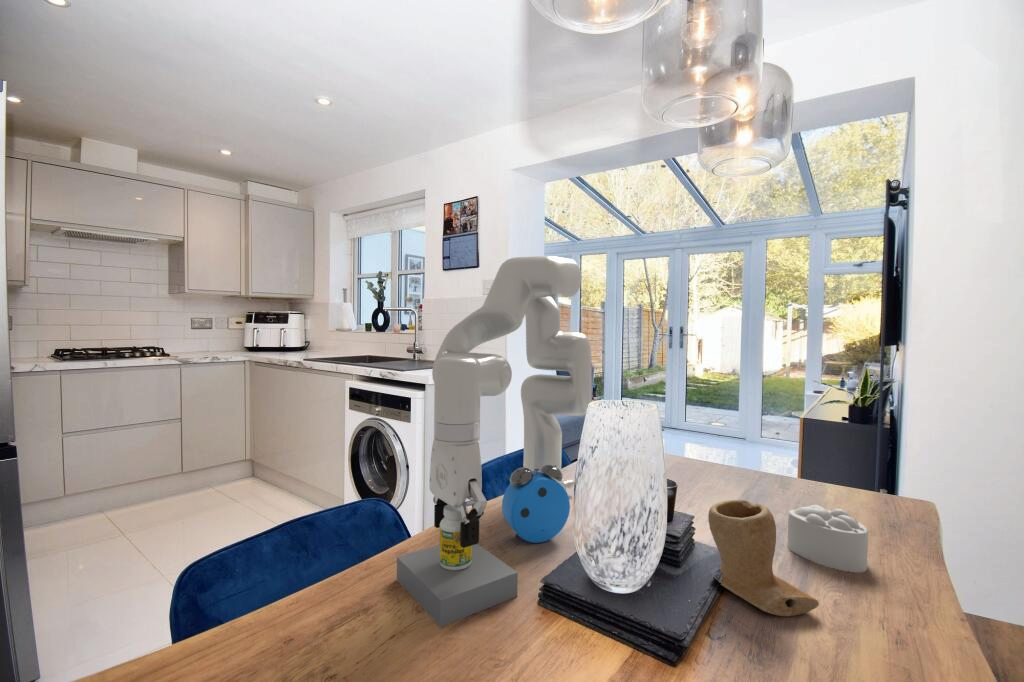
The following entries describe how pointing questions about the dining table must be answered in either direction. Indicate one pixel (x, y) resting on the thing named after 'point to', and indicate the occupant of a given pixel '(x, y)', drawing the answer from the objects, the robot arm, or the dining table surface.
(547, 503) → the alarm clock
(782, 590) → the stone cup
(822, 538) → the lumpy-topped squat cylinder
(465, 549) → the supplement bottle
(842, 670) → the dining table surface
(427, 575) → the riser block
